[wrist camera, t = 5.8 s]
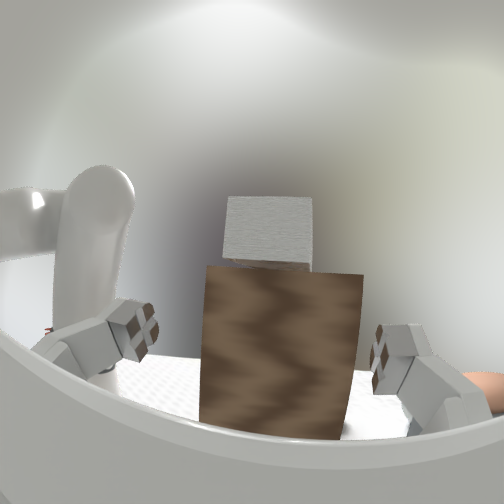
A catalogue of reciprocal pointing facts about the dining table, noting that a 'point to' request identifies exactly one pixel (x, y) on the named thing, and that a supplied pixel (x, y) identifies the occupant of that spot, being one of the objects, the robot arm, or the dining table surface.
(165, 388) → the dining table surface
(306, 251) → the white bar
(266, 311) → the stand
